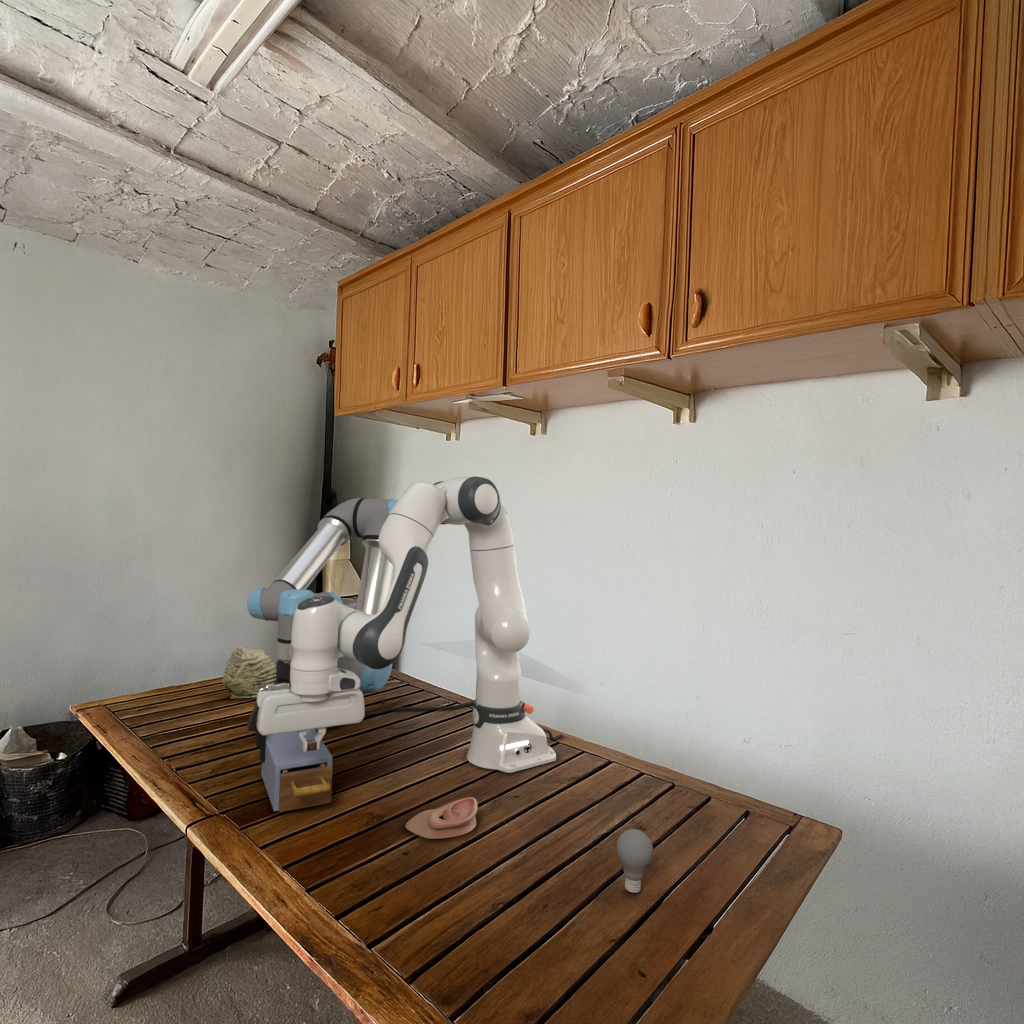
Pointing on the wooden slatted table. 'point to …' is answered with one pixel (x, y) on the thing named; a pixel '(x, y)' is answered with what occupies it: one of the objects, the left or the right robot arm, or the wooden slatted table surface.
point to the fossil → (248, 672)
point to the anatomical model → (445, 820)
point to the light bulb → (634, 857)
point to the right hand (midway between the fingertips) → (310, 750)
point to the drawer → (305, 786)
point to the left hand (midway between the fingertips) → (290, 755)
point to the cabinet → (288, 759)
